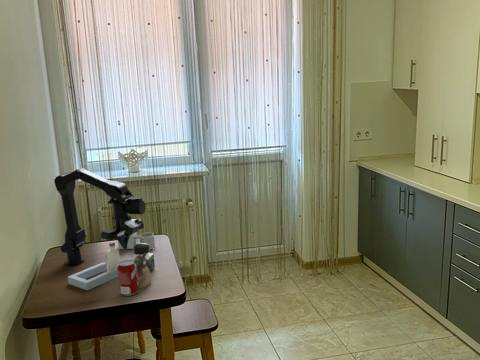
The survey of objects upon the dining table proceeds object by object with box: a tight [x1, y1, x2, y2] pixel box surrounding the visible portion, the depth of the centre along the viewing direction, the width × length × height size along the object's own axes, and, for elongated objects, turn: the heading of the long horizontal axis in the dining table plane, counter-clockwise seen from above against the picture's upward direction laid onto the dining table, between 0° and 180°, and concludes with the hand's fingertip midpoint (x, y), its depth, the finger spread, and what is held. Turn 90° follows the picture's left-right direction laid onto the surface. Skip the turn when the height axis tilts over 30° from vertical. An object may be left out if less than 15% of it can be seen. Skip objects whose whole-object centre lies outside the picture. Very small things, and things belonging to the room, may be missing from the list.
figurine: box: [134, 253, 152, 289], centre depth 184 cm, size 7×7×12 cm
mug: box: [134, 232, 156, 251], centre depth 224 cm, size 10×7×7 cm, turn 79°
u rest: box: [67, 261, 118, 291], centre depth 192 cm, size 12×17×3 cm
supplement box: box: [117, 218, 139, 250], centre depth 227 cm, size 7×7×13 cm
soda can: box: [117, 259, 140, 297], centre depth 177 cm, size 7×7×12 cm
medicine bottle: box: [130, 242, 156, 275], centre depth 195 cm, size 7×7×12 cm
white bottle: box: [106, 242, 121, 271], centre depth 199 cm, size 5×5×12 cm
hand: (124, 249), depth 203 cm, fingers closed
